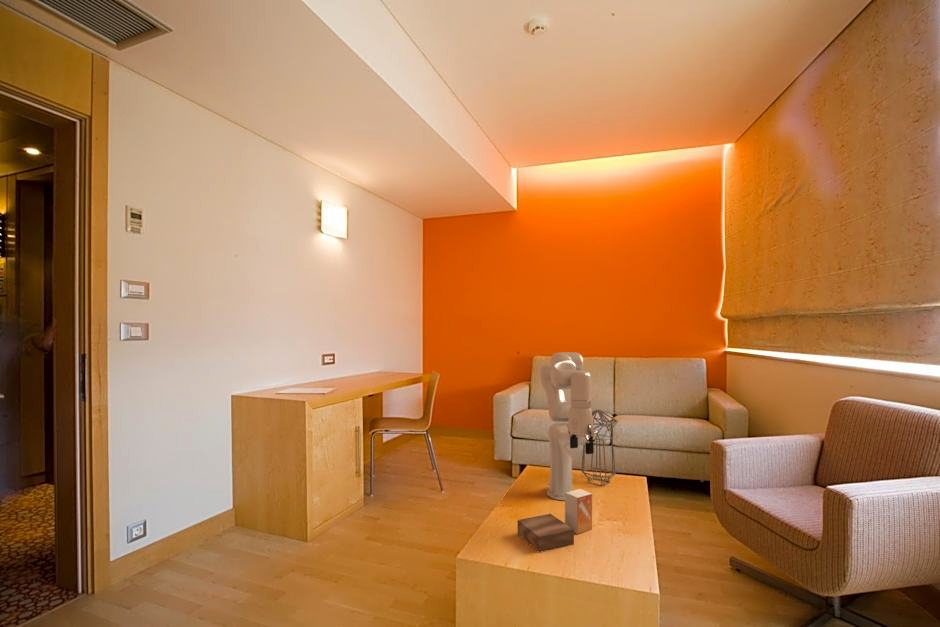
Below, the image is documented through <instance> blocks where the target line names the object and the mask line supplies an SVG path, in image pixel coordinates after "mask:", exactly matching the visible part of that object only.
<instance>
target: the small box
mask: <svg viewBox="0 0 940 627" xmlns="http://www.w3.org/2000/svg"><path fill="white" fill-rule="evenodd" d="M564 523H565V524H567V525H568V526H570V527H571V528H573V529H574V534H576V535H579V534H581V533H584V532H587V531H591V530H593V493H591V492H589V491H586V490H584V489H582V488H578V489H574V490H573V489H572V491H570V492H566V493H565V500H564Z"/></svg>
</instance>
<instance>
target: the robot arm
mask: <svg viewBox="0 0 940 627" xmlns="http://www.w3.org/2000/svg"><path fill="white" fill-rule="evenodd" d="M549 362H550V363H546V364H543V365H541V367H540V368H539V376H540V382H541V385H542V388H543V390H544V392H545V396H546V400H547V408H548V416H549V418H550V420H551V421H552V422H554V424H551V425H550V426H549V427H548V430H547V431H548V432H547V433H548V434H547V435H548V441H549V451H550V457H549V458H550V481H547V485H548V486H549V489H548V490H547V491H546V495H547V496H548V497H549V498H551V499H553V500H558V501H565V493H566V492H570V491H573V456H572V453H571V451H570V450H569V449H568V448H567V446H569V448H570V449H578V448H579V446H583V445H585V455H592V454H593V455H594V453H595V450H594V448H595V447H594V446H595V445H594V444H595V442H596V435H597V433H598V431H597V430H596V428H595V427H594V425H593V419H594V418H593V417H594V416H593V417H592V412H593V411H592V410H593V409H592V382H591V381H592V379H591V378H592V377H591V374H590V372H588V371H586V370H584V369H583V368H584V364H585V363H584V359H583V356H582V355H581V354H580V353H579V352H575V351H573V352H571V351H570V352H567V351H566V352H565V351H564V352H563V351H562V352H561V351H560V352H556V353H553V354H552V355H551V357H550V361H549ZM564 390H570V400H569V401H568V400H566V395H565V391H564ZM555 422H556V423H555ZM594 428H595V429H594ZM588 437H590V438H588Z"/></svg>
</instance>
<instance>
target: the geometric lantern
mask: <svg viewBox="0 0 940 627" xmlns="http://www.w3.org/2000/svg"><path fill="white" fill-rule="evenodd" d="M597 414H598V415H599V418H598V417H596V416H597ZM592 417H593V426H594V425H596V426H595V427H593V428H594V429H595V430H596V429H598V428H599V427H600V428H599V430H598V431H597V435H596V439H595V442H596V443H595V444H596V446H595V447H596V448H595V449H596V451H595V452H596V454H595V456H596V457H595V467H593V461H594V459H593V456H594V453H593V454H591V460H590V461H591V463H590V468H586V469H585V462H586V461H585V460H586V458H585V456H586V453H585V445H582V446H583V448H582V458H581V469H580V470H581V471H580V472H581V473H582V474H583V475H584V476H585V477H586V478H587V482H588V481H589V484H592V483H593V482H591V481H593V480H594V481H599V482H600V483H601V484H598V483H593V484H592V485H596V486H600V487H605V486H606V485H608V484H610V483H611V482H610V481H611V480H610V479H612V478H613V477H614V476H616V474H617V472H616V461H615V453H614V452H615V451H614V449H615V448H614V440H613V439H614V427H615V426H616V425H617V424H618V423H619V422H620V421H619V420H618V419H616V418H614V417H613V416H612V415H609V414H608V413H606V412H604V411H603V410H601V409H595V410H594V411H592ZM609 418H610V419H609ZM595 421H596V422H597V423H594V422H595ZM611 426H612V427H611ZM603 427H605V428H606V429H607V430H606V431H605V433H604V434H600V432H601V430H602V428H603ZM610 431H611V432H610ZM607 432H608V434H609V435H606V434H607ZM600 436H602V438H600ZM605 437H608V438H605ZM589 438H590V437H588V439H589ZM604 438H605V439H604ZM608 440H611V442H610V443H611V466H612V467H611V468H612V470H608V469H607V466H606V464H607V462H606V450H605V449H606V448H605V441H608ZM601 441H602V447H603V448H602V449H603V461H604V463H603V464H604V468H601V467H602V464H601V462H602V461H601ZM598 451H599V452H598ZM598 454H599V457H598ZM598 460H599V461H598ZM598 466H599V467H598ZM593 469H594V470H595V473H594V470H593ZM589 470H591V471H592V474H591V473H588V472H586V471H589ZM597 471H599V474H597V473H598V472H597ZM602 471H604V475H602ZM608 472H609V473H610V474H608V475H607V473H608ZM592 479H593V480H592ZM590 480H591V481H590ZM604 482H606V483H604ZM603 483H604V484H603Z"/></svg>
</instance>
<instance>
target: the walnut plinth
mask: <svg viewBox="0 0 940 627" xmlns="http://www.w3.org/2000/svg"><path fill="white" fill-rule="evenodd" d="M517 535H518V536H519V537H520V536H521V537H522V538H521V537H520V538H521V539H523V540H524V541H525V540H526V541H527V542H528V543H527V542H526V541H525V542H526V543H527V544H528V545H530V544H531V545H532V546H533V547H534V548H533V547H532V546H531V545H530V546H531V547H532V548H533V549H534V550H536V551H537V552H538V551H539V552H538V553H541V551H543V552H547V551H552V550H555V548H556V549H559V548H565V547H569V546H572V545H575V533H574V529H573V528H571V527H570V526H568V525H567V524H565V521H564V522H563V521H562V520H561V519H559V518H557V517H556V516H555V515H554V514H552V513H548V514H547V513H545V514H542V515H537V516H532V517H526V518H521V519H517ZM546 550H547V551H546Z"/></svg>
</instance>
